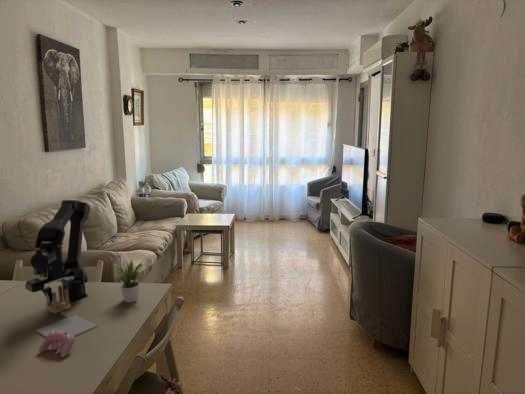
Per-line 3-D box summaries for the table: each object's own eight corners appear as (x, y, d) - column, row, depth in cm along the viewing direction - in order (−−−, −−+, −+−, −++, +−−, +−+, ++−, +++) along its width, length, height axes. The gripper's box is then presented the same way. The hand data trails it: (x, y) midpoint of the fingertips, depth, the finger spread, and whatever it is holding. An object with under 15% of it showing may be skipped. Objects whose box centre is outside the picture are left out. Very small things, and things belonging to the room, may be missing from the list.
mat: (75, 315, 145) (75, 314, 145) (97, 326, 137) (97, 325, 136) (35, 331, 134) (35, 330, 134) (56, 344, 125) (56, 343, 125)
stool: (62, 303, 149) (60, 285, 148) (70, 307, 146) (69, 288, 145) (46, 308, 145) (44, 290, 144) (54, 313, 141) (52, 294, 140)
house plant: (156, 302, 156) (154, 262, 153) (120, 311, 148) (117, 269, 145) (144, 290, 167) (142, 253, 165) (110, 298, 160) (108, 259, 157)
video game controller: (73, 357, 121) (79, 333, 123) (62, 358, 117) (68, 333, 119) (48, 352, 124) (54, 328, 126) (36, 352, 120) (43, 328, 122)
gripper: (67, 250, 154) (71, 288, 157) (15, 263, 140) (20, 304, 142) (83, 255, 148) (86, 294, 151) (30, 269, 133) (35, 313, 136)
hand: (58, 301), depth 145 cm, fingers closed on stool, 5 cm apart
